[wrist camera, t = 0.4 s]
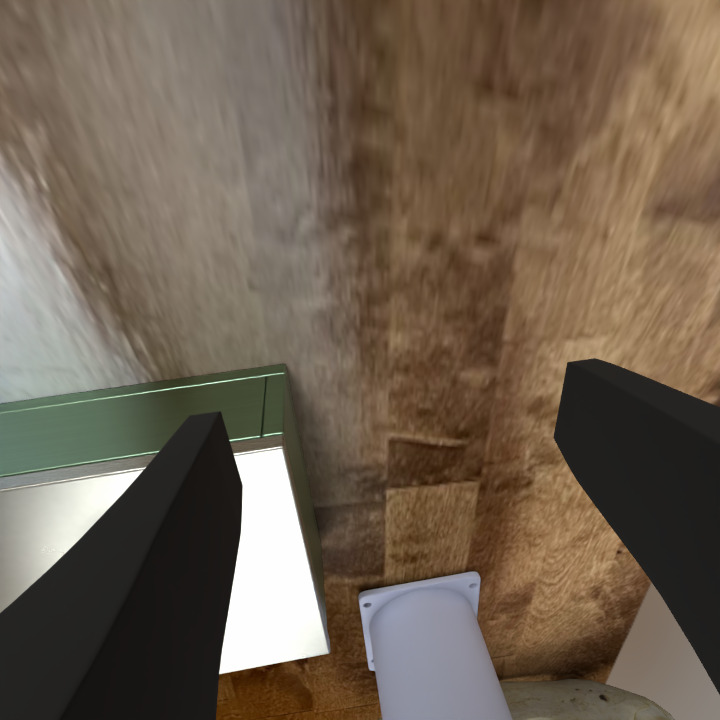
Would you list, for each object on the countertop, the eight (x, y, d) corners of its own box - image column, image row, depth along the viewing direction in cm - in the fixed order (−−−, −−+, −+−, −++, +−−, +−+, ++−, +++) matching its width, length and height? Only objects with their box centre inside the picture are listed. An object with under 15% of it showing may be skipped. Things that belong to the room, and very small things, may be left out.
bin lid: (329, 639, 22) (338, 756, 18) (69, 687, 22) (19, 822, 18) (284, 433, 16) (281, 549, 12) (-100, 491, 15) (-247, 639, 11)
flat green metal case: (321, 546, 26) (327, 629, 22) (99, 584, 25) (63, 678, 21) (285, 362, 20) (284, 432, 16) (-15, 404, 19) (-99, 490, 15)
